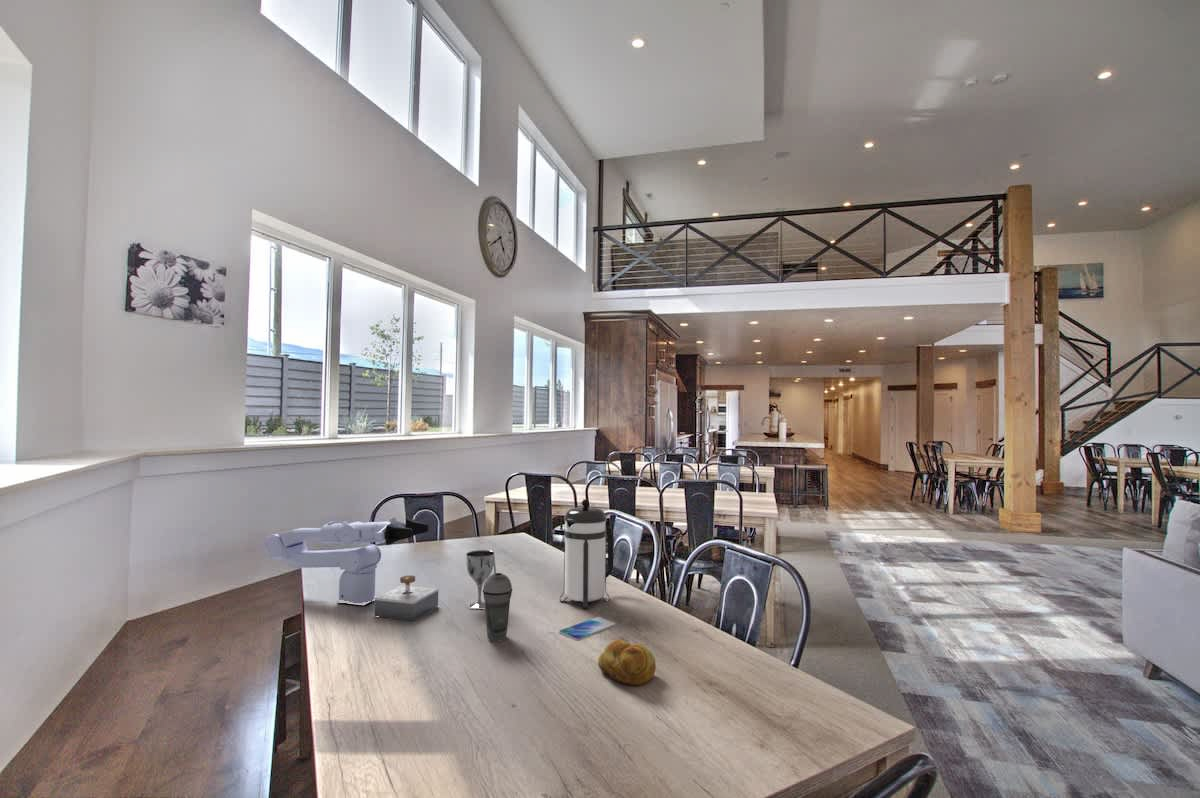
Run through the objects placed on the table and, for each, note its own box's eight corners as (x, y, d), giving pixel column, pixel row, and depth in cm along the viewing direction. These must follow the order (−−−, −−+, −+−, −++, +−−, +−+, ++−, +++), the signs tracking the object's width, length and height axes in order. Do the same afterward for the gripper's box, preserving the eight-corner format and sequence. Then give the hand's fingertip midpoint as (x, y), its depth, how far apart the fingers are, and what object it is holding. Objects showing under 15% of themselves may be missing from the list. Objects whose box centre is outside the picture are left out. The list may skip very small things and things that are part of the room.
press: (374, 616, 150) (374, 597, 150) (406, 600, 164) (406, 582, 164) (413, 621, 147) (413, 601, 147) (442, 604, 161) (442, 586, 161)
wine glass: (496, 602, 163) (497, 550, 163) (488, 611, 155) (489, 557, 156) (470, 600, 164) (471, 549, 164) (461, 610, 156) (462, 556, 156)
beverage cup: (505, 644, 132) (506, 560, 133) (476, 642, 133) (478, 558, 134) (516, 633, 139) (517, 552, 140) (488, 631, 140) (490, 551, 141)
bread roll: (588, 673, 117) (588, 635, 118) (619, 659, 124) (619, 623, 125) (634, 694, 108) (634, 653, 109) (664, 678, 115) (665, 639, 116)
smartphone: (618, 623, 145) (577, 639, 135) (618, 626, 145) (577, 643, 135) (598, 615, 150) (557, 630, 140) (598, 619, 150) (557, 634, 140)
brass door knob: (381, 602, 151) (381, 580, 151) (402, 591, 160) (403, 571, 160) (412, 605, 148) (412, 583, 149) (432, 594, 158) (432, 574, 158)
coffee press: (613, 610, 157) (614, 503, 158) (557, 609, 157) (558, 502, 158) (613, 591, 174) (614, 495, 175) (562, 590, 174) (563, 494, 176)
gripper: (361, 522, 155) (404, 520, 152) (393, 514, 169) (433, 512, 166) (363, 547, 155) (405, 546, 151) (395, 537, 169) (434, 536, 165)
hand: (420, 530), depth 159 cm, fingers open, 7 cm apart
